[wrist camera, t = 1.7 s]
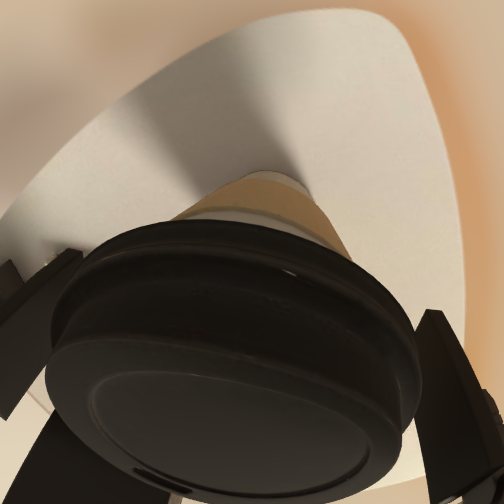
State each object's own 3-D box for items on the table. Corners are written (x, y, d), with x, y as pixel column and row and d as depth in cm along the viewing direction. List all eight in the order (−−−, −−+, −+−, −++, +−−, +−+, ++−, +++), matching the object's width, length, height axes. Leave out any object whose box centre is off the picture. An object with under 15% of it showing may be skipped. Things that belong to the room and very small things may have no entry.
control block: (10, 258, 24) (-21, 283, 19) (49, 320, 27) (24, 349, 22) (-16, 281, 27) (-40, 302, 22) (17, 331, 30) (-4, 354, 25)
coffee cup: (191, 268, 21) (83, 465, 8) (202, 129, 16) (-39, 227, 3) (325, 293, 20) (338, 520, 7) (363, 157, 16) (542, 339, 3)
